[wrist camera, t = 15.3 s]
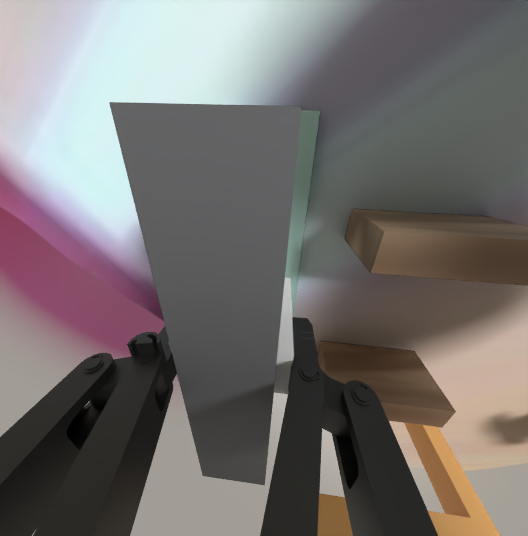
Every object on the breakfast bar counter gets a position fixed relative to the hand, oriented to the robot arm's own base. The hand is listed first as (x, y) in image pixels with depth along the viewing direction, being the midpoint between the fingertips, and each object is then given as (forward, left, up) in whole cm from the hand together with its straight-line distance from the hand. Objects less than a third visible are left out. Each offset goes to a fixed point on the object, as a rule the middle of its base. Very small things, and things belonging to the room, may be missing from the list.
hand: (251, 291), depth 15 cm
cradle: (+3, +12, -4) cm, 13 cm away
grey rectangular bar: (0, 0, +3) cm, 3 cm away
